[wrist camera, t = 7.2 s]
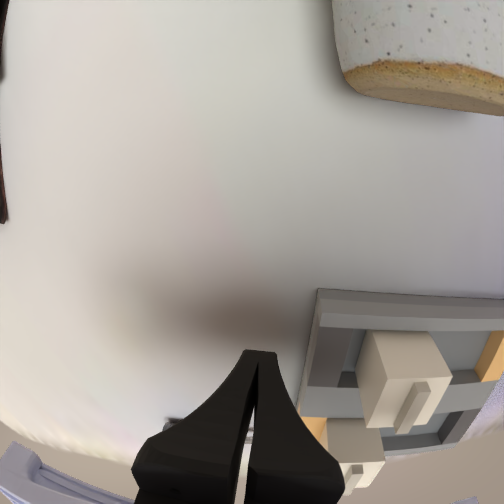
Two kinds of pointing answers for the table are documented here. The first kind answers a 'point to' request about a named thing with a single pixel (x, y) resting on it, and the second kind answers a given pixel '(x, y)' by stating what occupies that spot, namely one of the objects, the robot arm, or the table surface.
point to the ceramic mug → (424, 51)
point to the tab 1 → (354, 450)
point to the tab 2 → (400, 378)
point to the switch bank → (407, 319)
